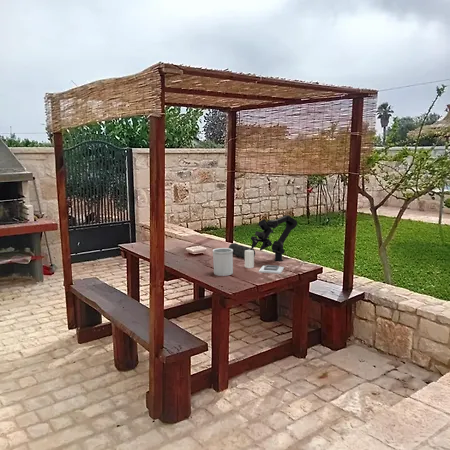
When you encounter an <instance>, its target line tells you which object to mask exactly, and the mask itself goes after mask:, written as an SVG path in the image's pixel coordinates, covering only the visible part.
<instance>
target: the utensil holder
mask: <svg viewBox="0 0 450 450" xmlns="http://www.w3.org/2000/svg"><path fill="white" fill-rule="evenodd" d="M233 256H234V254H233V249H230V248H229V247H217V248H213V249H212V258H213V274H214V276H218V277H225V276H230V275H231V276H232V275H233V273H234V271H233V270H234V264H233V263H234V260H233V259H234V257H233Z"/></svg>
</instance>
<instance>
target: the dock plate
mask: <svg viewBox="0 0 450 450" xmlns="http://www.w3.org/2000/svg"><path fill="white" fill-rule="evenodd" d="M284 269H285V267H284V266H280V265H276V264H275V265H272V264H266V265H262V266H261V267H260V269H259V270H258V273H263V274H264V273H265V274H279V275H281V274H282V272H283V270H284Z"/></svg>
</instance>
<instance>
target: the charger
mask: <svg viewBox="0 0 450 450" xmlns="http://www.w3.org/2000/svg"><path fill="white" fill-rule="evenodd" d="M244 268H246V269H253V268H255V257H254V251H253V250H245V258H244Z"/></svg>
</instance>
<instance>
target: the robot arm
mask: <svg viewBox="0 0 450 450" xmlns="http://www.w3.org/2000/svg"><path fill="white" fill-rule="evenodd" d="M283 223H285V227H284V229H283V231H282V233H281V235H280V237H279V238H278V240H274V241H273V242H272V241H271V239H270V235H271V233H272V234H273V233H274V229H276V228H277V227H278V226H279V225H281V224H283ZM257 225H258V226H259V228H260V229H261V230H262V231H255V234H254V236H253V235H252V236H251V237H250V240H251V242H252V243H251V247H250V248H251V249H254V248H255V247H256V246H257V245H258V243H262V245H261V247H260V248H259V251H260V252H261V251H263V250H265V249H266V248H268V247H271V251H272V253H274V258H273V260H274V262H283V261H284V260H283V255H284V254H285V249H284V243H285V241H286V240H287V238H288V237H289V234H291V231H292V230H294V229H295V228H296V227H297V226H298V221H297V220H296V219H294V218H293V217H291V215H283V216H281V217H278V218H276V219H270V220H268V221H267V220H266V219H265V218H263V219H262V220H260V221H258V224H257Z"/></svg>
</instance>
